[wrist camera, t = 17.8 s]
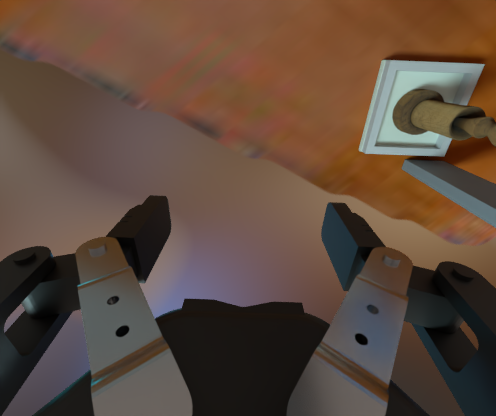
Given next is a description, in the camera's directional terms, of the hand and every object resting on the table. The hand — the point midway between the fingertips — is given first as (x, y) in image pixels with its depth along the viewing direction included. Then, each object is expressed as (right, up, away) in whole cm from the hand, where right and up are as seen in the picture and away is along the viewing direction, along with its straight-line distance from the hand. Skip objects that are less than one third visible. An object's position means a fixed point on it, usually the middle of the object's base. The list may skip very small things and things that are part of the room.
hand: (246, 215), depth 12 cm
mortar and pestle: (+27, +16, +27) cm, 41 cm away
